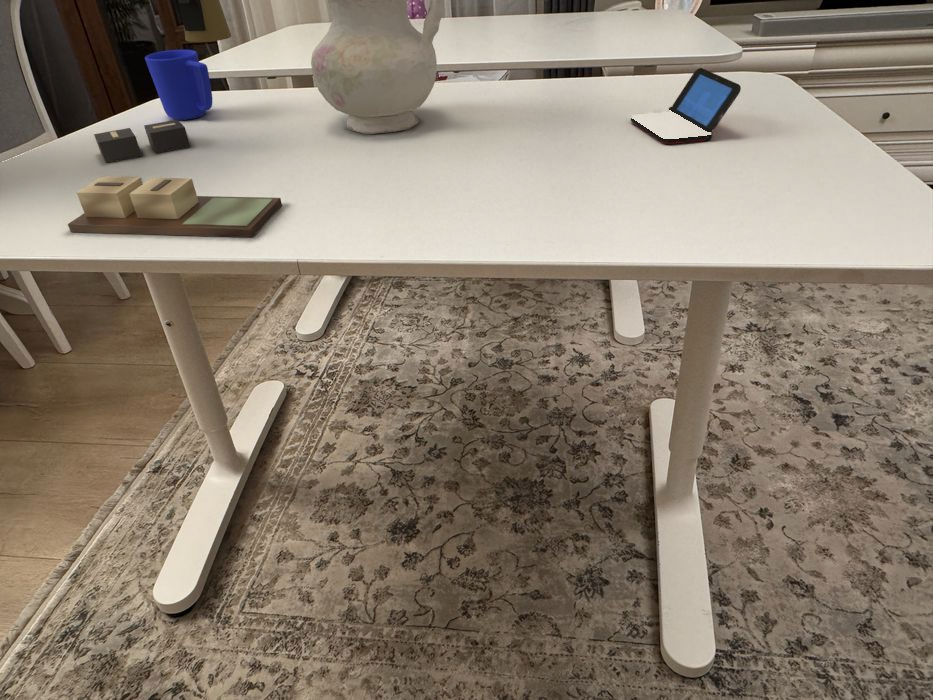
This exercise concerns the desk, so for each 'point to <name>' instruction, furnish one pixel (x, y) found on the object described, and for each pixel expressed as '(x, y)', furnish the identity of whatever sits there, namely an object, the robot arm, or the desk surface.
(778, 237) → the desk surface
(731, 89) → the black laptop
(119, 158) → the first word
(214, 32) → the olive chess pawn
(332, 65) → the ceramic pitcher
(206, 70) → the mug
